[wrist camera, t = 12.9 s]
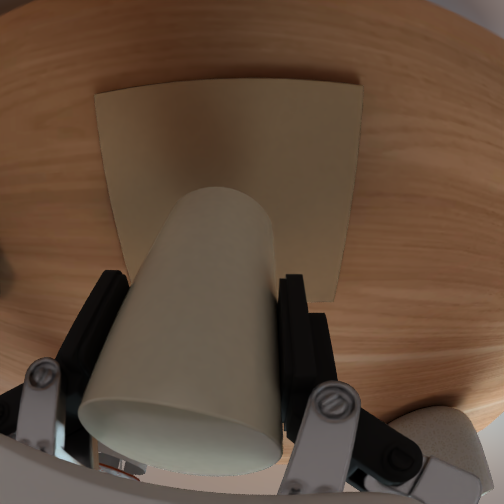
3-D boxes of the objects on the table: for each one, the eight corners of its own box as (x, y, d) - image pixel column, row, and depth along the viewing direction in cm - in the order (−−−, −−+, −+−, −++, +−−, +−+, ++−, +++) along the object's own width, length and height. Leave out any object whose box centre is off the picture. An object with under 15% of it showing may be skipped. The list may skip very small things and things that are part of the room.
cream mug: (157, 187, 13) (40, 379, 5) (275, 186, 13) (294, 410, 5) (178, 305, 17) (135, 476, 9) (271, 307, 17) (273, 490, 9)
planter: (487, 386, 31) (518, 475, 18) (423, 440, 40) (439, 514, 27) (395, 394, 29) (420, 517, 17) (337, 449, 39) (345, 538, 26)
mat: (98, 93, 14) (93, 94, 14) (360, 84, 14) (364, 85, 13) (137, 291, 22) (134, 297, 21) (332, 296, 21) (333, 302, 21)
